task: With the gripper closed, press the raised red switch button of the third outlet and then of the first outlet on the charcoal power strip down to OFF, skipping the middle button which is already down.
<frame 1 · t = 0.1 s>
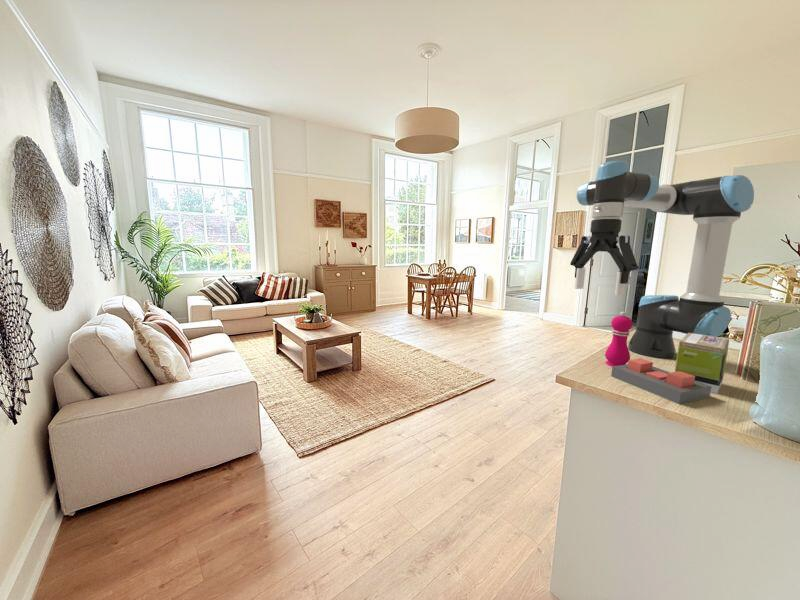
hand: (597, 291, 99), 28 cm above the worktop, tool pointing down, fingers open, 13 cm apart
button 3: (680, 381, 91), point 5 cm above the worktop, slide at 0.0 cm
tea box: (697, 386, 101), on the worktop
button 1: (639, 366, 101), point 5 cm above the worktop, slide at 0.0 cm
button 2: (657, 380, 96), point 3 cm above the worktop, slide at 2.0 cm
power strip: (656, 390, 97), on the worktop
pepper mill: (615, 368, 114), on the worktop
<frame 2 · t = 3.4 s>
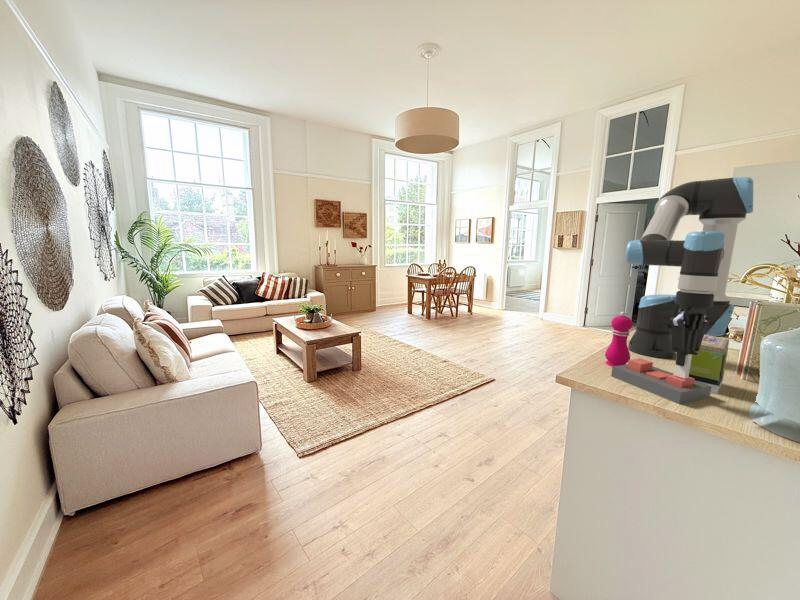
hand: (680, 376, 90), 7 cm above the worktop, tool pointing down, fingers closed
button 3: (679, 383, 91), point 4 cm above the worktop, slide at 0.7 cm, touching gripper
everything else where it was.
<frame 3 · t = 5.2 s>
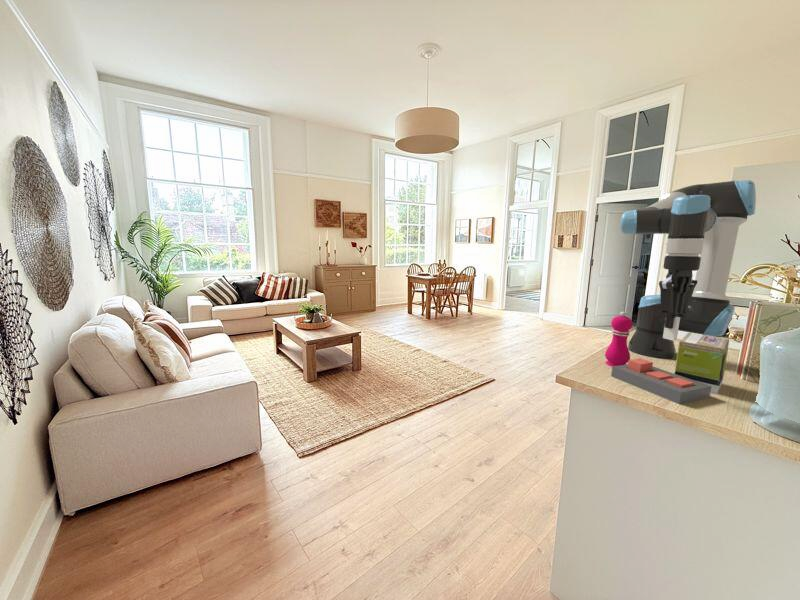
hand: (669, 339, 93), 16 cm above the worktop, tool pointing down, fingers closed
button 3: (678, 387, 91), point 3 cm above the worktop, slide at 1.9 cm
everything else where it was.
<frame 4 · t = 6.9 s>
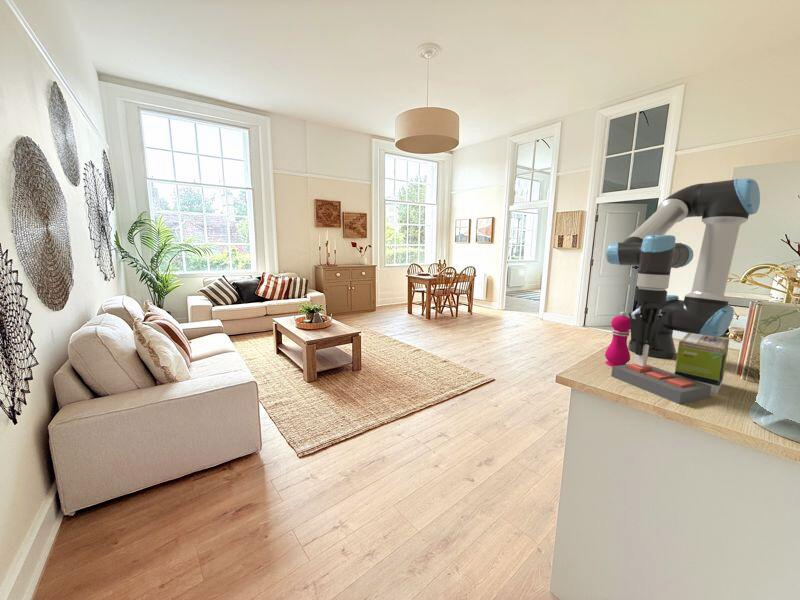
hand: (639, 364, 101), 6 cm above the worktop, tool pointing down, fingers closed
button 1: (639, 371, 101), point 4 cm above the worktop, slide at 1.4 cm, touching gripper
everything else where it was.
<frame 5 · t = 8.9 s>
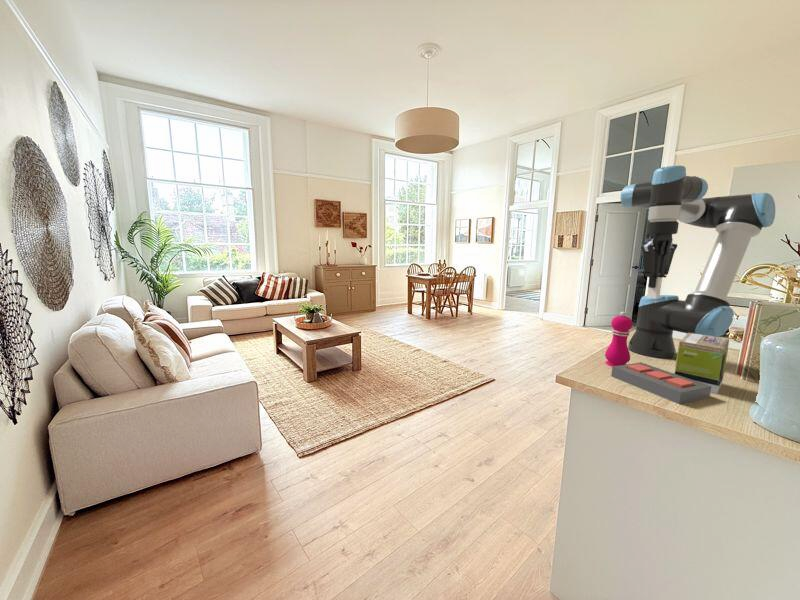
hand: (653, 297, 104), 26 cm above the worktop, tool pointing down, fingers closed
button 1: (638, 372, 101), point 3 cm above the worktop, slide at 1.9 cm
everything else where it was.
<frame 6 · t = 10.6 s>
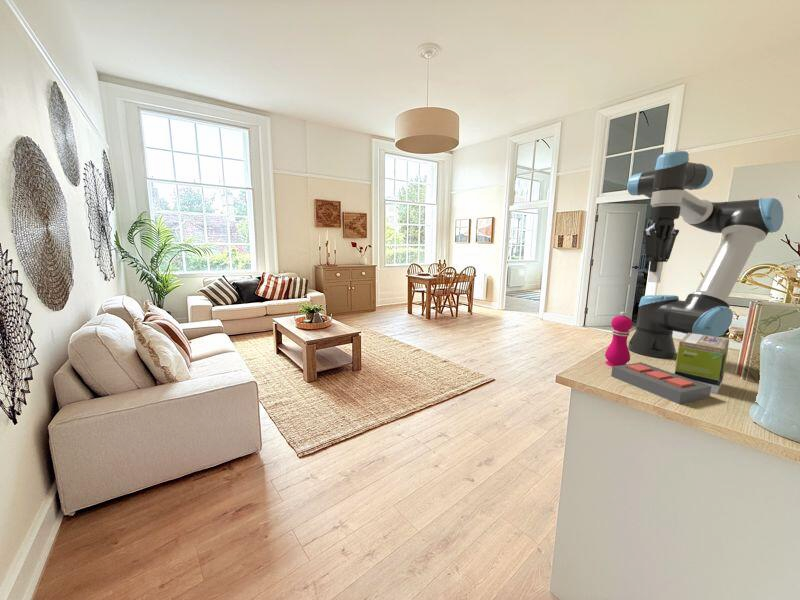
hand: (653, 282, 106), 30 cm above the worktop, tool pointing down, fingers closed
nothing on the worktop moved.
at the end: button 3 slide at 1.9 cm; button 1 slide at 1.9 cm; button 2 slide at 2.0 cm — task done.
